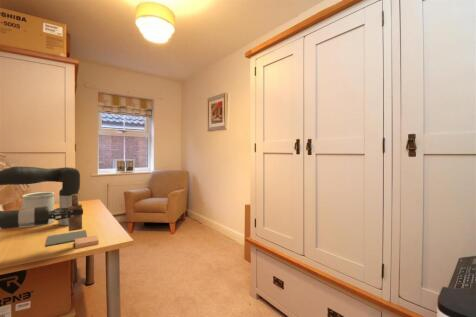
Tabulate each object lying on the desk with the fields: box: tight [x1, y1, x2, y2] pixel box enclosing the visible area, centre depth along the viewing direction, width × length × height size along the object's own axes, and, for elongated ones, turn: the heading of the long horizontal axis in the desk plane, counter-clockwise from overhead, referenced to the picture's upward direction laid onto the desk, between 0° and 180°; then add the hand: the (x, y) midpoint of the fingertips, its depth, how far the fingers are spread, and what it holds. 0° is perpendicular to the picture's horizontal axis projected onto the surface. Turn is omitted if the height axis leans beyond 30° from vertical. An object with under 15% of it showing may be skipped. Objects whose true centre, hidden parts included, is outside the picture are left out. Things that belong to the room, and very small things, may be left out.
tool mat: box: [45, 229, 88, 247], centre depth 118 cm, size 16×14×1 cm
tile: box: [74, 235, 99, 249], centre depth 112 cm, size 2×8×9 cm
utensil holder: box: [21, 191, 55, 228], centre depth 142 cm, size 15×15×18 cm
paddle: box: [68, 193, 83, 232], centre depth 109 cm, size 5×3×16 cm, turn 126°
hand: (82, 210), depth 111 cm, fingers closed on paddle, 3 cm apart
